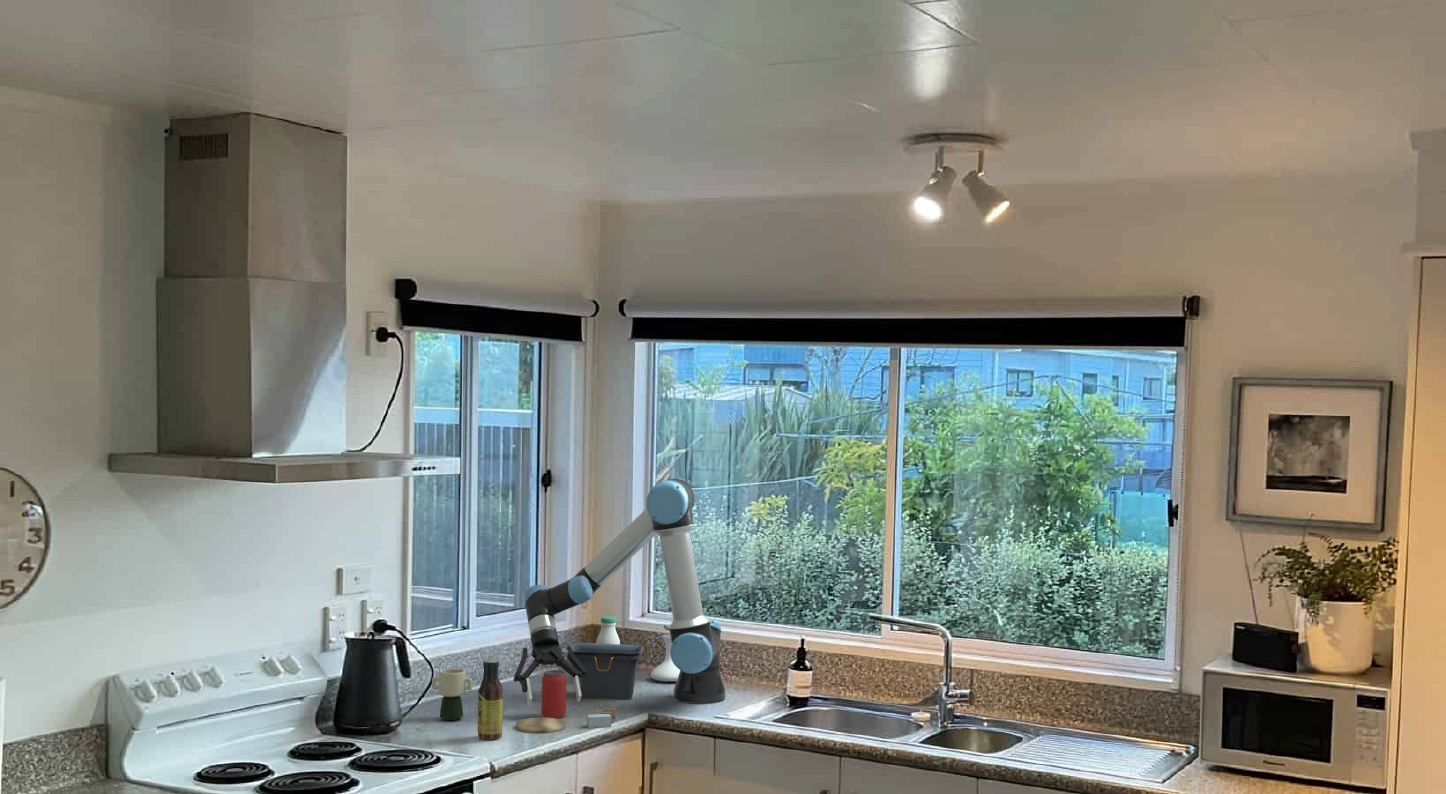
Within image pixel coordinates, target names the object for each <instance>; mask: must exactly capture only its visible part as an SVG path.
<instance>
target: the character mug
mask: <svg viewBox="0 0 1446 794" xmlns="http://www.w3.org/2000/svg"><path fill="white" fill-rule="evenodd" d="M466 672H467V671H466V670H465V669H464V668H458V667H457V668H456V667H455V668H443V669H440V670H439V671H438V676H433V677H432V678H431V688H432V689H433V690H438V694H439V695H440V696H441V697H442V699H441V705H440V711H439V717H440V719H442V720H451V721H452V720H458V719H460V718H463V717H464V711H463V709H464V708H463V700H462V697H461V696H463V695H465V692H466V691H472V690H473V679H472V678H471V677H466ZM436 681H438V685H436ZM466 682H468V686H466Z"/></svg>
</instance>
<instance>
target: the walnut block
mask: <svg viewBox="0 0 1446 794" xmlns="http://www.w3.org/2000/svg"><path fill="white" fill-rule="evenodd" d="M600 714H610V715H611V725H612V724H613V723H614V722H615V720H617V708H614V707H604V709H603V710H602V711H601V712H600Z"/></svg>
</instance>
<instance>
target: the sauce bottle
mask: <svg viewBox="0 0 1446 794" xmlns="http://www.w3.org/2000/svg"><path fill="white" fill-rule="evenodd" d="M482 666H483V675H482V681H481V683H480V685H479V689H478V691H477V736H478V738H479V740H483V741H496V740H499V739H500V738H501V737H502V736H503V734H502V733H503V720H504V719H503V717H504V715H503V714H504V713H503V712H504V709H503V707H504V706H503V705H504V703H503V702H504V696H503V695H504V694H503V685H502V684H503V683H502V682H501V681H500V678H499V676H500V675H499V668H500V660H499V659H497V658H496V659H495V658H488V659H484V660H483V661H482Z"/></svg>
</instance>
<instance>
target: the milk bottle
mask: <svg viewBox="0 0 1446 794" xmlns="http://www.w3.org/2000/svg"><path fill="white" fill-rule="evenodd" d="M616 624H617V617H616V616H612V615H611V616H610V615H609V616H608V615H607V616H601V618H600V625H601V626H600V627H601V629H600V632H599V634H598V636H597V638H596V642H595V643H597V644H621V641H620V637H619V635H618V633H617V630H616Z"/></svg>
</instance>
